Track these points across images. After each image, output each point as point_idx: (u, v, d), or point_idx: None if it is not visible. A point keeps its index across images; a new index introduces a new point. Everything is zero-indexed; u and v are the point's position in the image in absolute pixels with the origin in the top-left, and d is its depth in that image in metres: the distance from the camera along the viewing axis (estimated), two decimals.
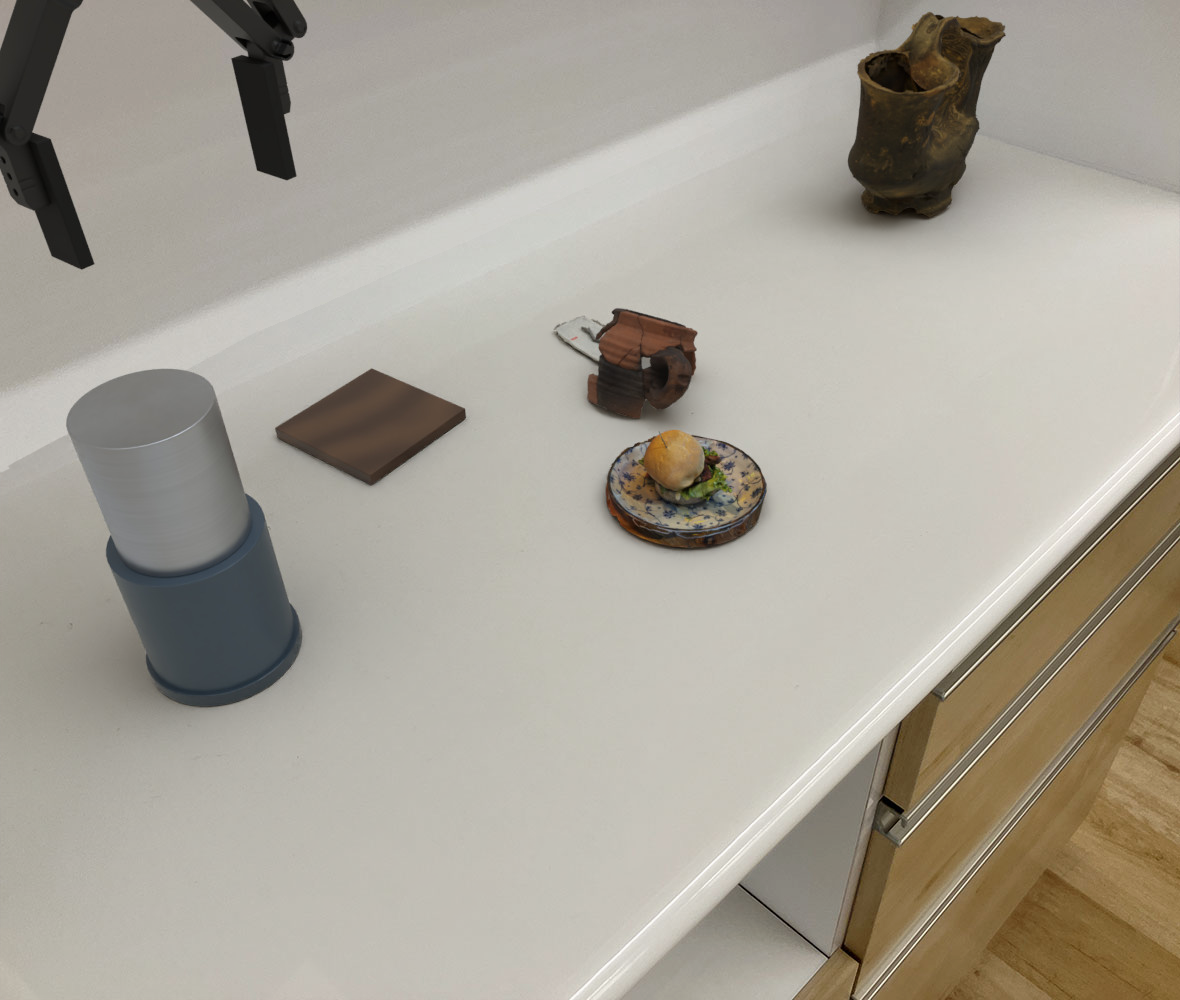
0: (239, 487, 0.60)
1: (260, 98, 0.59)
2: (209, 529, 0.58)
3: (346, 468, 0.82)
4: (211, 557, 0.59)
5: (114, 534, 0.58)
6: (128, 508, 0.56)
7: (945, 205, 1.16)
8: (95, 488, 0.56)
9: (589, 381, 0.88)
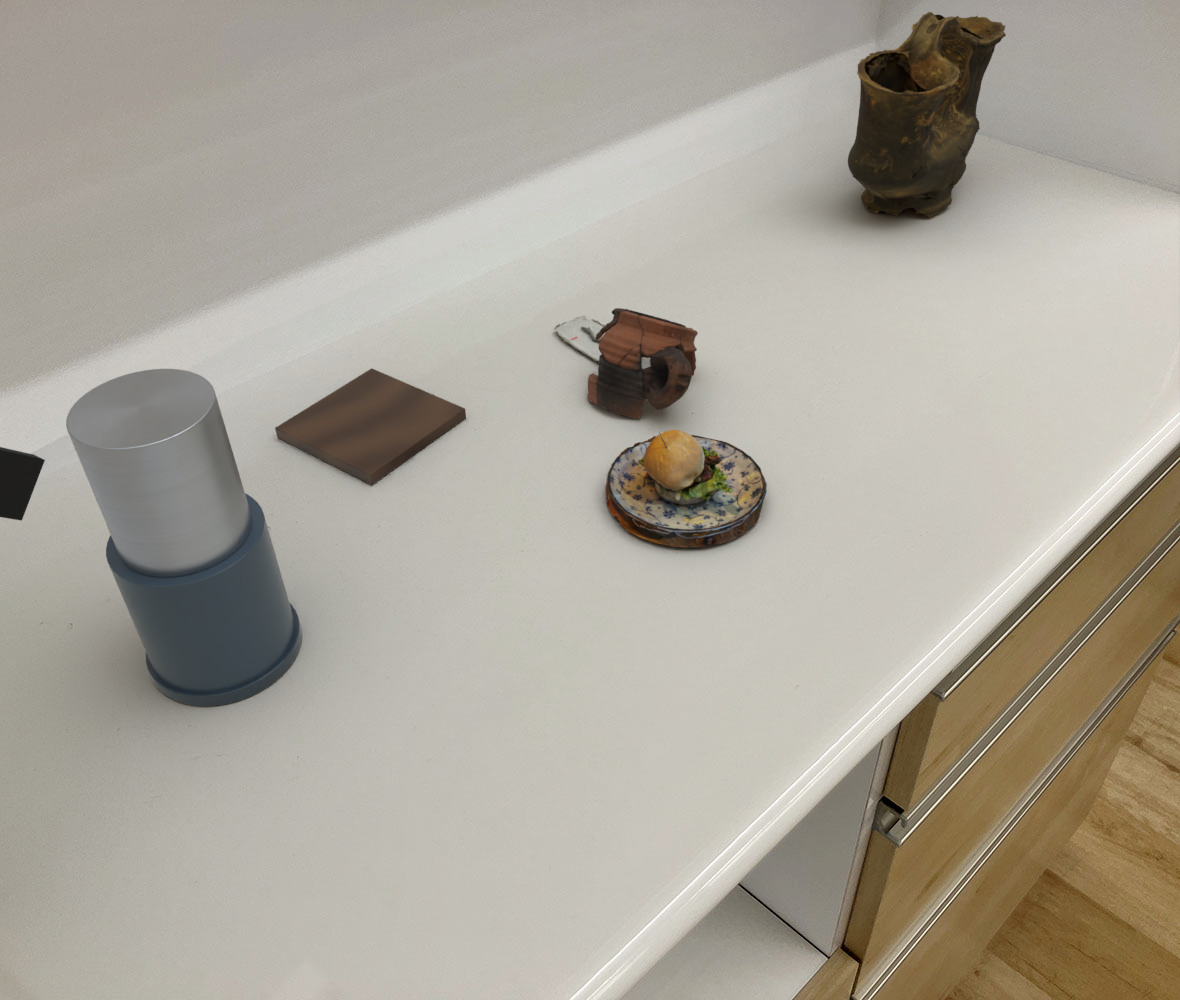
0: (239, 487, 0.60)
1: None
2: (209, 529, 0.58)
3: (346, 468, 0.82)
4: (211, 557, 0.59)
5: (114, 534, 0.58)
6: (128, 508, 0.56)
7: (945, 205, 1.16)
8: (95, 488, 0.56)
9: (589, 381, 0.88)
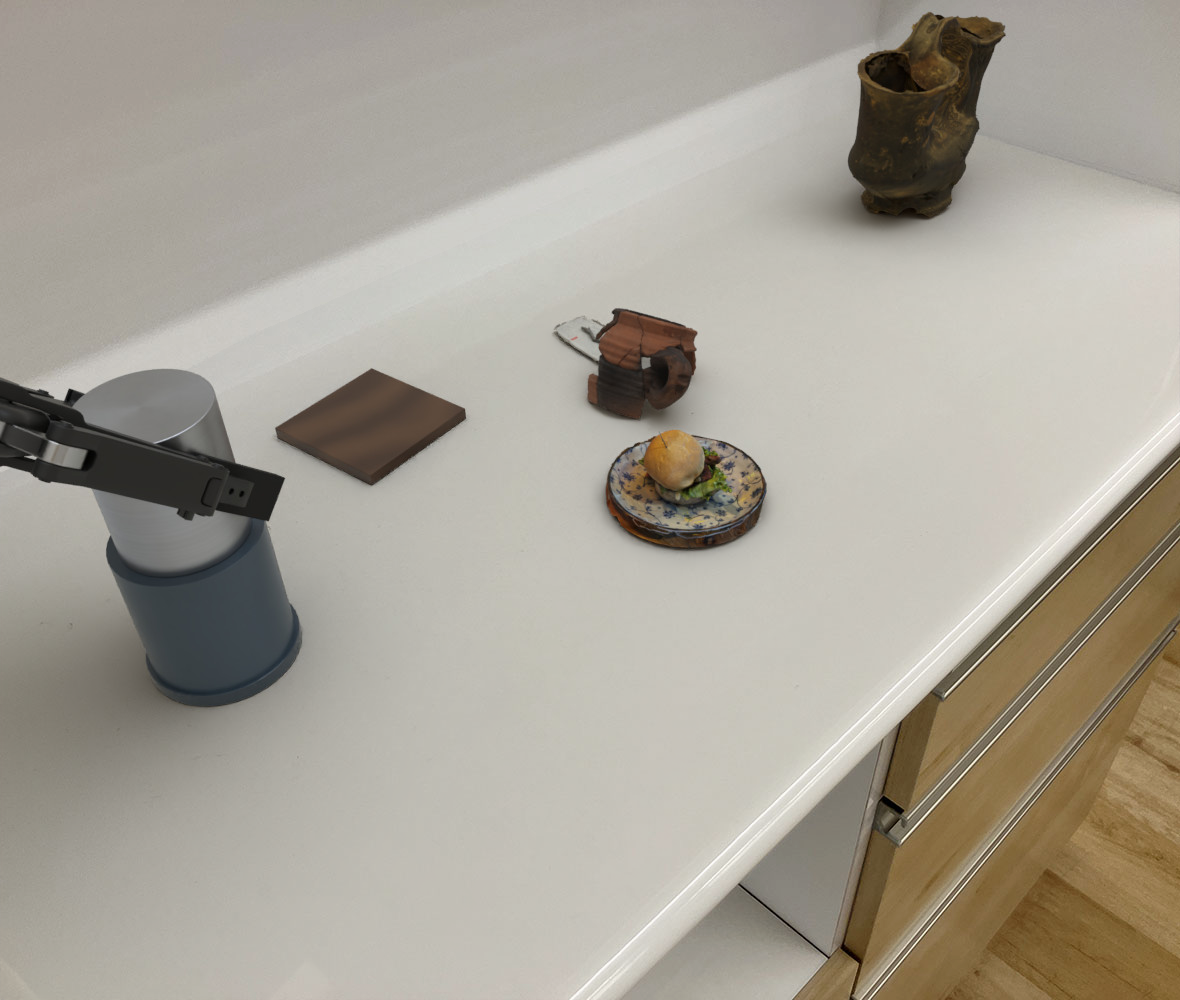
0: None
1: None
2: (209, 529, 0.58)
3: (346, 468, 0.82)
4: (211, 557, 0.59)
5: (114, 534, 0.58)
6: (127, 508, 0.56)
7: (945, 205, 1.16)
8: None
9: (589, 381, 0.88)
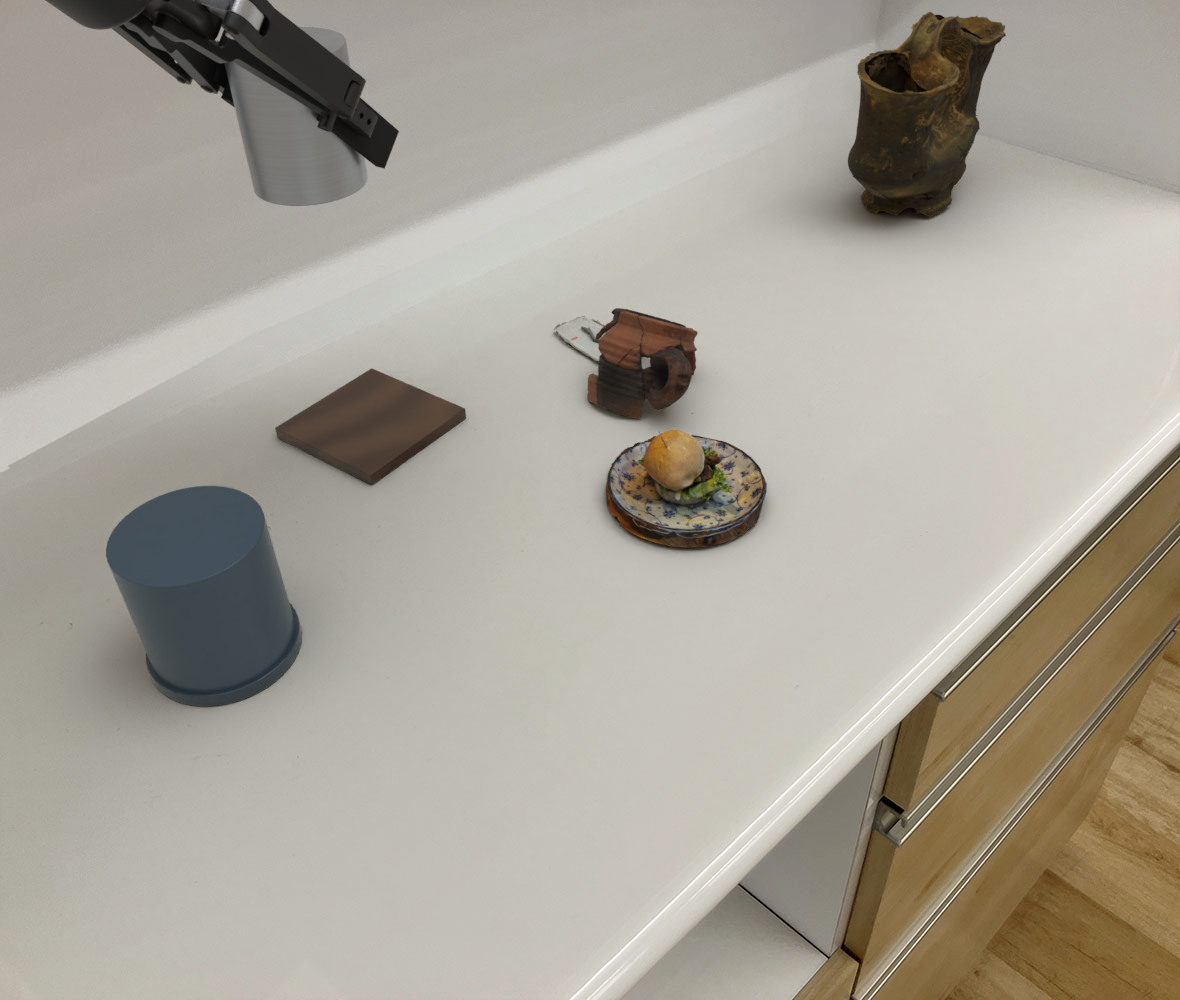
0: None
1: None
2: (338, 161, 0.67)
3: (346, 468, 0.82)
4: (337, 190, 0.68)
5: (256, 164, 0.67)
6: (273, 129, 0.65)
7: (945, 205, 1.16)
8: (244, 113, 0.65)
9: (589, 381, 0.88)
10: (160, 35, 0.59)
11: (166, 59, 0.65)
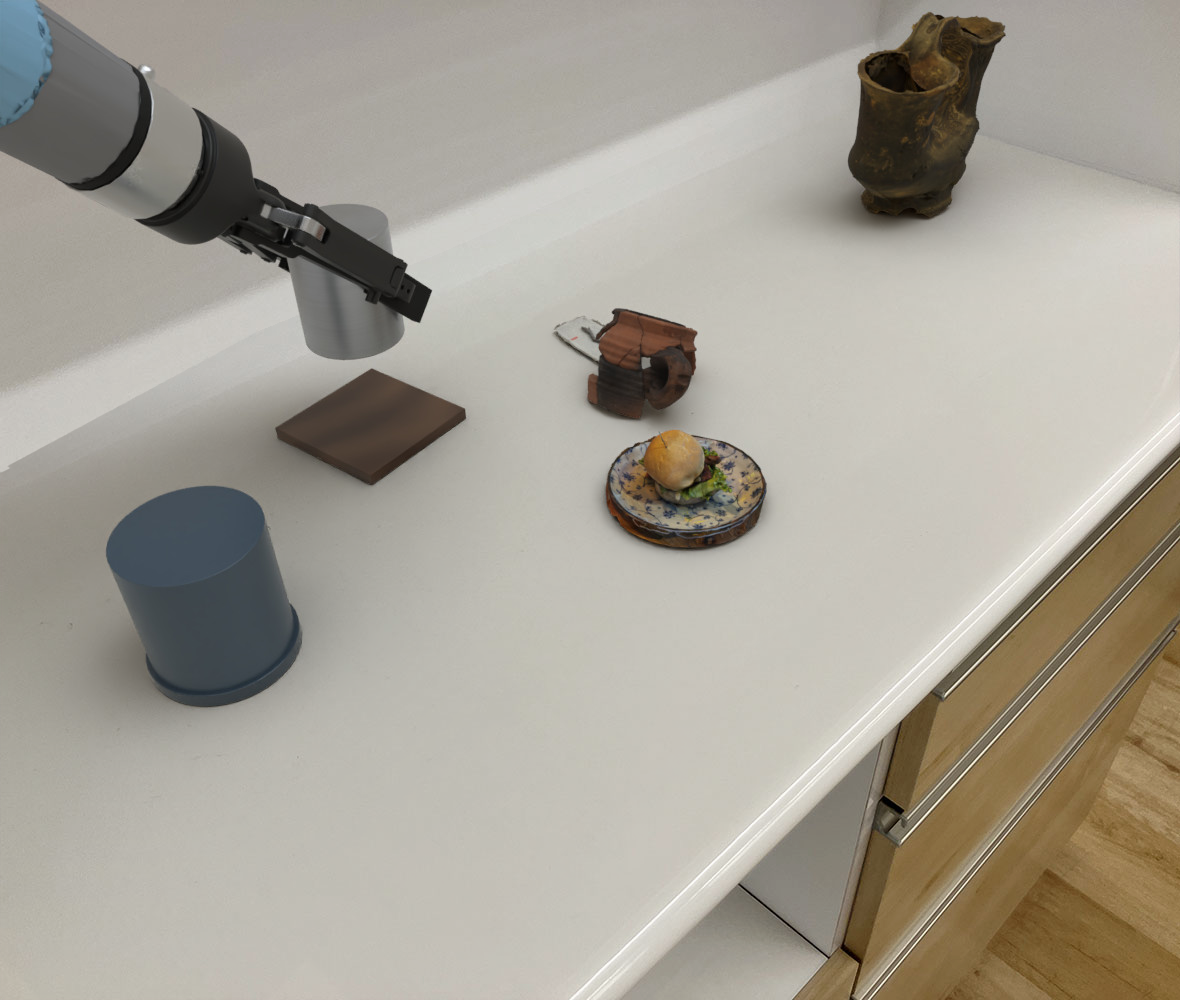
0: None
1: None
2: (380, 322, 0.77)
3: (346, 468, 0.82)
4: (380, 345, 0.78)
5: (309, 325, 0.77)
6: (325, 300, 0.75)
7: (945, 205, 1.16)
8: (301, 285, 0.75)
9: (589, 381, 0.88)
10: None
11: None
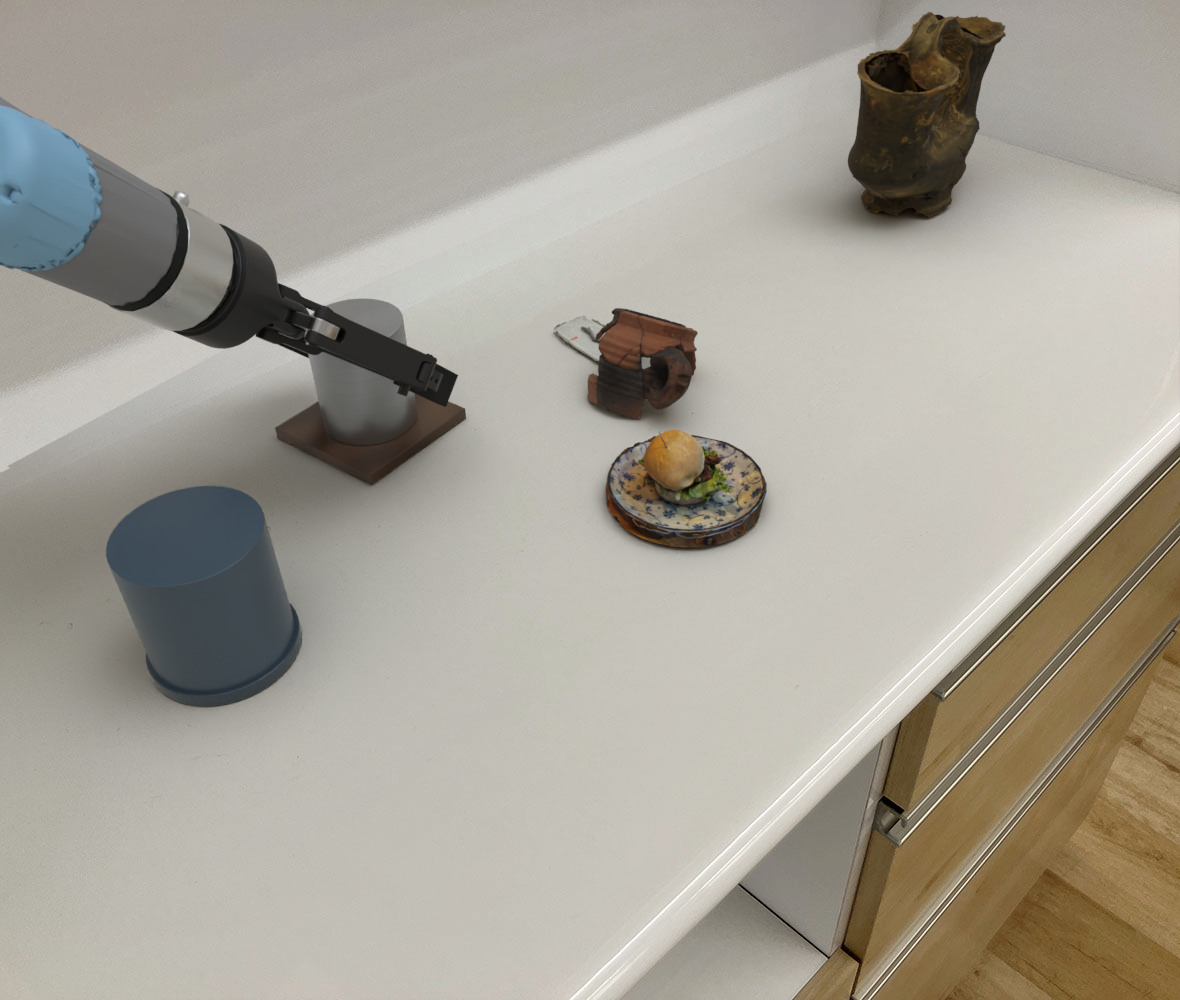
0: None
1: None
2: (395, 410, 0.82)
3: (346, 468, 0.82)
4: (394, 432, 0.83)
5: (329, 414, 0.82)
6: (344, 392, 0.80)
7: (945, 205, 1.16)
8: (321, 378, 0.80)
9: (589, 381, 0.88)
10: None
11: None
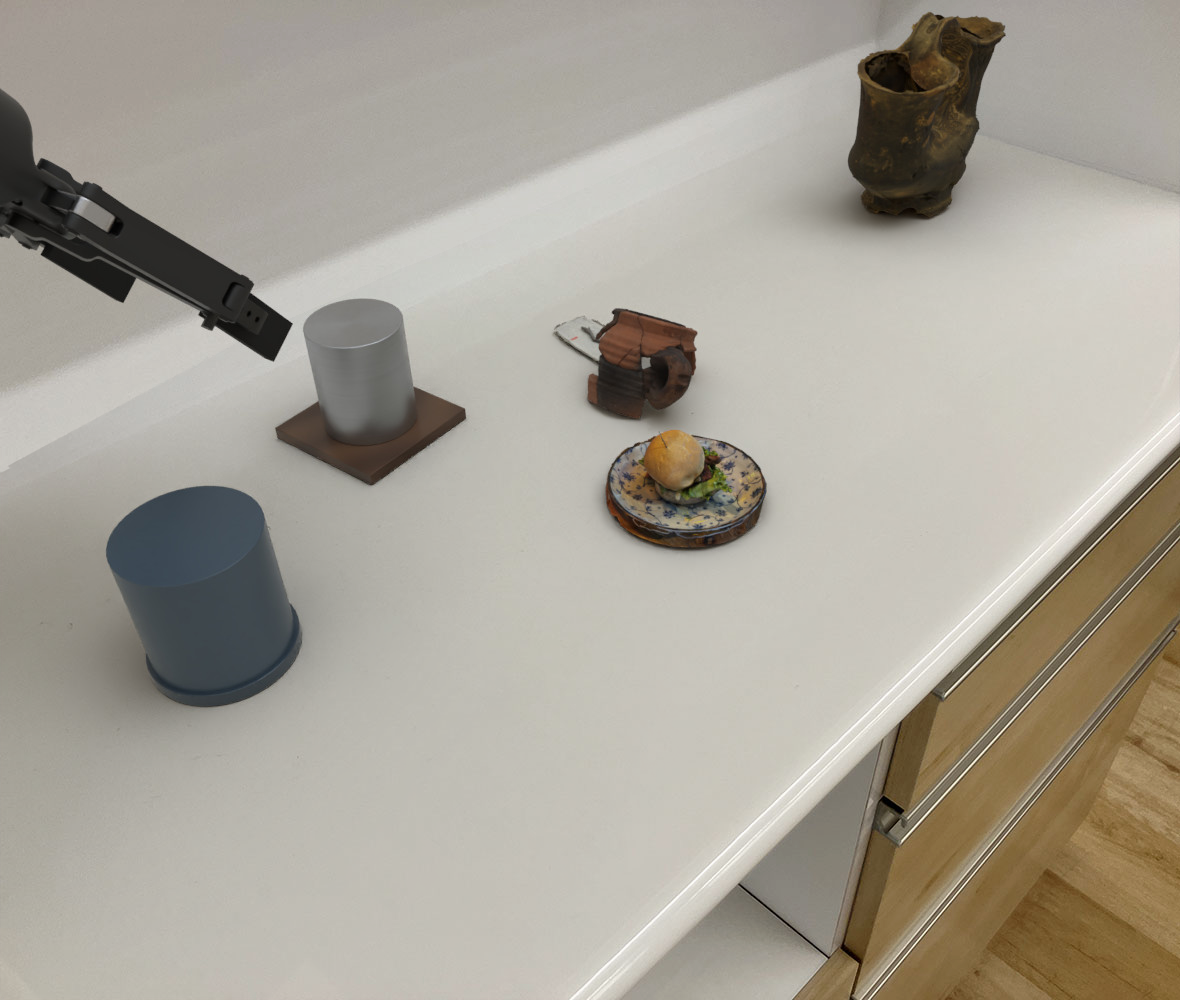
0: (412, 383, 0.84)
1: None
2: (395, 410, 0.82)
3: (346, 468, 0.82)
4: (394, 432, 0.83)
5: (329, 414, 0.82)
6: (344, 392, 0.80)
7: (945, 205, 1.16)
8: (321, 378, 0.80)
9: (589, 381, 0.88)
10: None
11: None
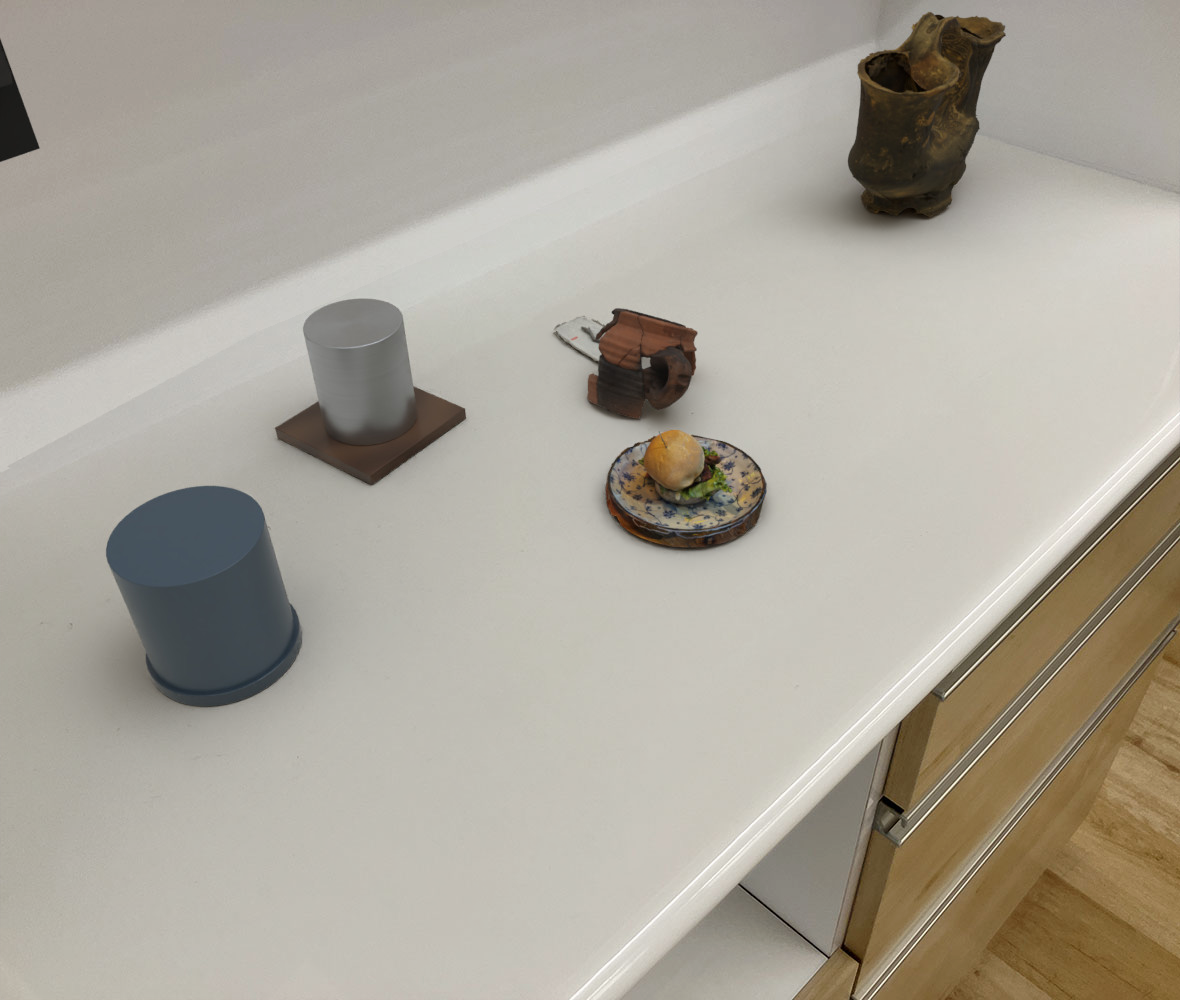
0: (412, 383, 0.84)
1: None
2: (395, 410, 0.82)
3: (346, 468, 0.82)
4: (394, 432, 0.83)
5: (329, 414, 0.82)
6: (344, 392, 0.80)
7: (945, 205, 1.16)
8: (321, 378, 0.80)
9: (589, 381, 0.88)
10: None
11: None
